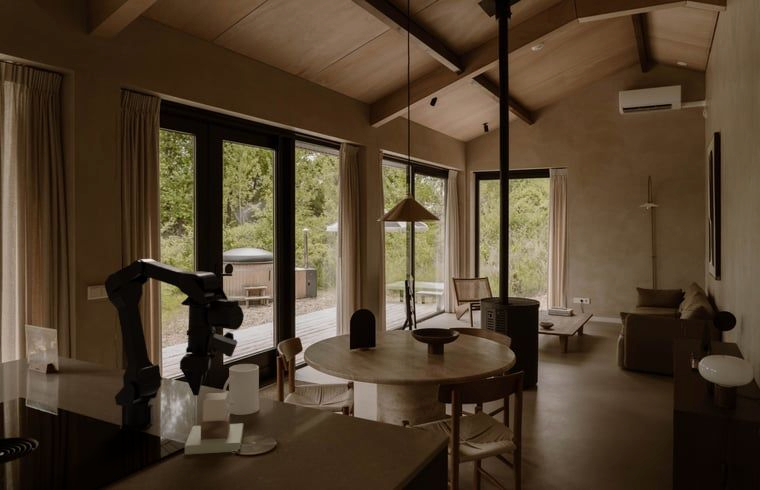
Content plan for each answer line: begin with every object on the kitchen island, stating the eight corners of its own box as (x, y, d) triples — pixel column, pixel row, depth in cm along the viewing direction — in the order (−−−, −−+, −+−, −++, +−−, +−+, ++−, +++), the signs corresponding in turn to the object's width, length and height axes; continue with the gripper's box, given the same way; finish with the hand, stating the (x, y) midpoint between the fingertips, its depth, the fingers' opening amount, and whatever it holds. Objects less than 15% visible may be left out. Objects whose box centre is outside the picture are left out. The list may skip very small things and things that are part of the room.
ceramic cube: (202, 421, 122) (203, 400, 122) (205, 414, 127) (205, 393, 127) (225, 420, 123) (225, 399, 123) (227, 413, 128) (227, 392, 128)
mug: (232, 420, 140) (232, 375, 139) (211, 413, 144) (212, 370, 144) (265, 409, 149) (266, 366, 149) (245, 402, 154) (245, 362, 154)
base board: (184, 454, 118) (184, 445, 118) (193, 434, 130) (193, 426, 130) (239, 451, 121) (239, 442, 121) (243, 431, 132) (243, 423, 132)
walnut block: (200, 439, 122) (200, 422, 122) (204, 429, 128) (204, 413, 128) (227, 438, 123) (227, 421, 123) (229, 428, 129) (230, 412, 129)
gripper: (232, 333, 119) (230, 401, 120) (238, 318, 137) (236, 377, 138) (180, 333, 117) (178, 402, 118) (193, 317, 135) (191, 377, 136)
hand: (199, 389), depth 127 cm, fingers open, 9 cm apart
